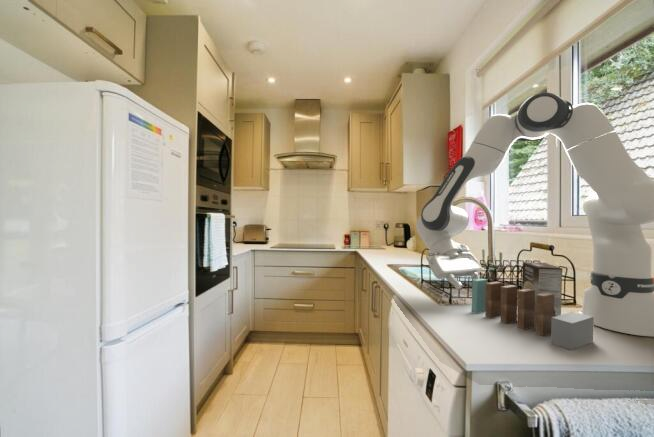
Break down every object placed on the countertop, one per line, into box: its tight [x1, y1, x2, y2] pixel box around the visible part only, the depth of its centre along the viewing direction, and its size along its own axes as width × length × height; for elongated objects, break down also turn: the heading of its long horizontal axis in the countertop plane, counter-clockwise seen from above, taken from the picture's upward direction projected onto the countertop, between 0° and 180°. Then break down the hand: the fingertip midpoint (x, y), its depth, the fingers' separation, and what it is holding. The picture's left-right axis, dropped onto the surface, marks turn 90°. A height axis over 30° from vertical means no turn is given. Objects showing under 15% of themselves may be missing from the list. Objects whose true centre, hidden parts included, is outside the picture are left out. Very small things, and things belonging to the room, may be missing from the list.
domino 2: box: [484, 281, 503, 319], centre depth 84 cm, size 2×5×10 cm, turn 116°
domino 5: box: [535, 293, 554, 337], centre depth 72 cm, size 2×5×10 cm, turn 116°
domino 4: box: [516, 288, 535, 330], centre depth 76 cm, size 2×5×10 cm, turn 116°
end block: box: [550, 311, 594, 351], centre depth 66 cm, size 10×4×6 cm, turn 116°
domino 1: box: [471, 278, 489, 314], centre depth 88 cm, size 2×5×10 cm, turn 116°
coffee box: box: [521, 261, 563, 324], centre depth 81 cm, size 9×6×16 cm
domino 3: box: [500, 284, 519, 324], centre depth 80 cm, size 2×5×10 cm, turn 116°
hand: (470, 286), depth 90 cm, fingers open, 8 cm apart
